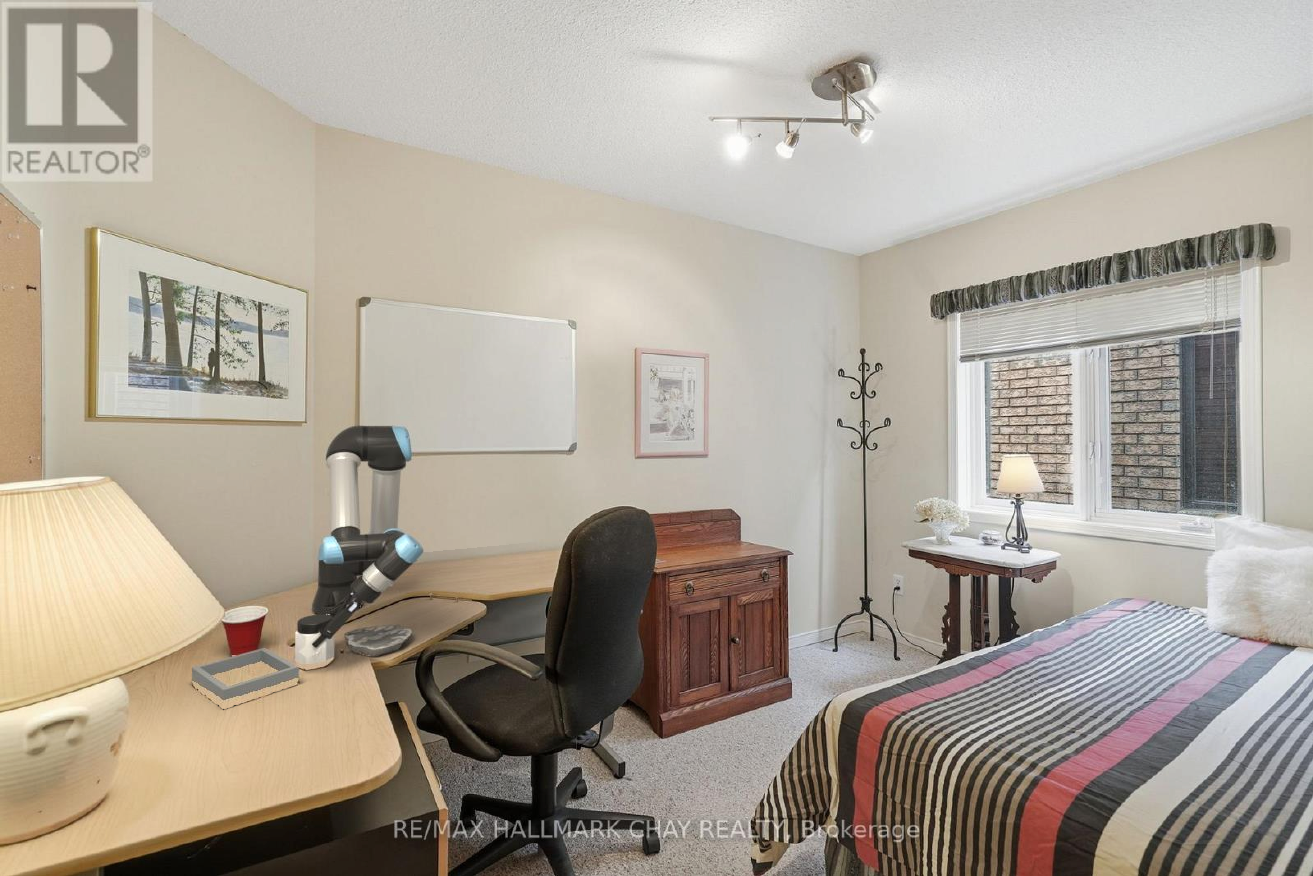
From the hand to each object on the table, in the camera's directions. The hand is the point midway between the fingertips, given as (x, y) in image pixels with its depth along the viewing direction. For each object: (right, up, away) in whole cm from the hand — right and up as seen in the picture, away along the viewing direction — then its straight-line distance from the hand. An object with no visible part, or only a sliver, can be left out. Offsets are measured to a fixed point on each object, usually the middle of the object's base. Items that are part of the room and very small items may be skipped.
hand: (307, 645), depth 154 cm
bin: (-8, -5, -12) cm, 15 cm away
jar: (+1, -5, +1) cm, 6 cm away
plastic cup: (-20, -5, +5) cm, 21 cm away
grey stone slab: (+12, -6, +15) cm, 20 cm away
